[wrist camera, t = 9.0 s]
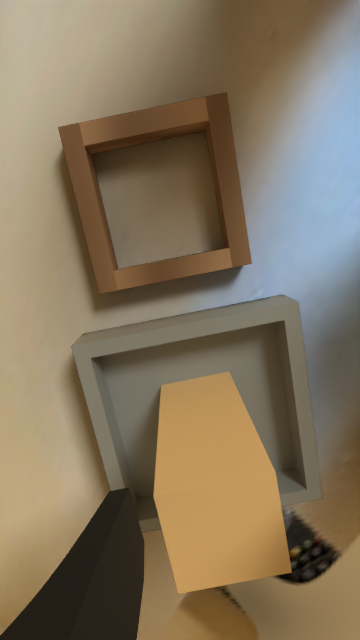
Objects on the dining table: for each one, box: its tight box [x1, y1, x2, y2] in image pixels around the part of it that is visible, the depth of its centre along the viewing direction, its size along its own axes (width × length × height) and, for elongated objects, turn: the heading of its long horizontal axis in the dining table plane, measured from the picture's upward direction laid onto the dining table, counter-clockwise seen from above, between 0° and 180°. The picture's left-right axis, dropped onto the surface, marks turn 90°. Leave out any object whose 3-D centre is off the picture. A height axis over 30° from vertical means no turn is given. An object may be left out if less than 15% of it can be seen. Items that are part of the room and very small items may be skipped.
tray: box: [71, 295, 322, 533], centre depth 20 cm, size 12×12×2 cm
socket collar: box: [58, 93, 252, 294], centre depth 18 cm, size 8×8×2 cm
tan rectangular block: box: [154, 372, 292, 594], centre depth 16 cm, size 4×4×9 cm
